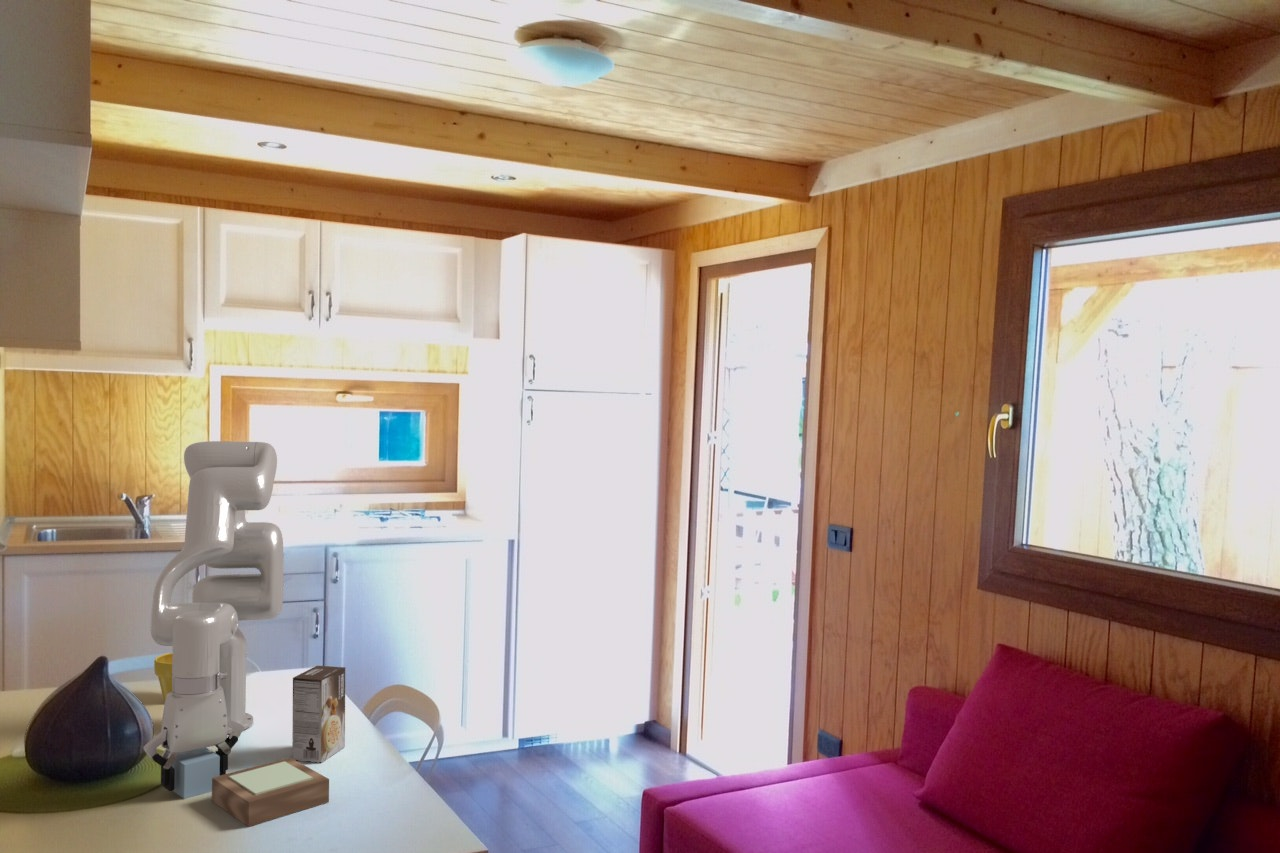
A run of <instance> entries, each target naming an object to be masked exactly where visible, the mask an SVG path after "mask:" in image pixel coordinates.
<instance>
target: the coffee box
mask: <svg viewBox="0 0 1280 853" xmlns="http://www.w3.org/2000/svg"><path fill="white" fill-rule="evenodd" d="M291 743H292V748H291V749H292V752H291V753H292V756H291V758H292V759H294V760H298V762H306V761H311V762H310V763H315V762H322V763H323V761H324V762H325V761H326V760H328V759H329V758H331V757H332V756H333V755H335V754H336V753H338V752H340V751H341V750H342V749H344V748H345V747H346V667H345V666H342V667H341V666H332V665H331V666H330V665H329V666H328V665H316V666H313V667H312V668H309V669H307V670H306V671H303V672H301V673H300V674H298V675H296V676H294V677H292V742H291Z"/></svg>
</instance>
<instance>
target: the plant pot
mask: <svg viewBox="0 0 1280 853" xmlns="http://www.w3.org/2000/svg"><path fill="white" fill-rule="evenodd" d="M153 664H154V665H153V667H154V675H156V677H158V682H159V686H160V690H161V694H162V699H163V702H164V703H165V700H166V696H167V694H168V693H170V692H172V667H173V651H172V652H167V653H164V654H160V655H158V656H156V657H155V658H154V662H153Z"/></svg>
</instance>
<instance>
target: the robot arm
mask: <svg viewBox="0 0 1280 853" xmlns="http://www.w3.org/2000/svg"><path fill="white" fill-rule="evenodd" d="M277 456H278V455H277V452H276V449H275V447H274V446H273V445H272V444H271V443H268V442H263V441H225V440H224V441H223V440H222V441H219V440H218V441H217V440H215V441H214V440H213V441H211V440H210V441H199V442H195V443H191V444H189V445H188V446H187V447H186V448H185V450H184V453H183V461H184V462H183V463H184V466H185V470H186V472H187V474H188V476H189V485H188V493H187V494H188V495H187V507H186V508H187V509H186V519H185V530H184V531H185V533H184V545H183V547H182V549H181V550H180V551H179V552H178V553H177V554H176V555H175V556H174V557H173V558H172V559H171V560H170V561H169V562H168V563H167V564H166V566H165V567H164V569H163V570H162V571H161V573H160V574H159V576H158V579H157V581H156V583H155V586H154V590H153V596H152V604H151V605H152V606H151V614H150V634H151V638H152V640H153V641H154V642H155V643H156V644H157V645H159V646H163V647H169V646H170V647H172V652H173V667H172V692H170V693H168V694H167V696H166V700H165V702H164V704H163V705H164V706H163V711H162V717H161V718H162V719H161V728H160V732H159V733H158V734H157V735H156V736H155V737H153V738H152V739H151V740H149V741H148V742H147V743H145V745H144V746H143V750H144V752H145V753H146V755H147V756H148V757H149V759H151V760H152V761H154V762H155V763H157V764H158V765H159V766H160V785H161V786H162V787H163V789H166V790H167V791H169V792H174V791H173V790H174V786H175V769H174V768H173V767H172V764H173V763H174V761H175V759H176V758H177V756H178V755H179V754H181V753H185V752H190V751H194V750H198V749H202V748H210V747H214V746H215V747H216V748H217V750H215V752H214V753H215V754H217V755H219V756H220V776H221V775H224V774H227V771H228V769H229V755H230V754H231V751H232V749H233V748H234V746H235V745H236V744H237V742H239V738H240V737H241V734H242V733H243V731H244V730H246V729H249V728H250V727H251V726H252V725H253V724H254V716H253V715H252V714H249V713H248V712H246V703H247V702H246V700H247V699H246V696H247V695H246V694H247V691H246V689H247V688H246V687H247V686H246V685H247V681H246V680H247V641H246V640H247V639H246V638H245V635H244V634H243V632H242V630H240V628H239V627H238V626H239V621H240V622H241V621H242V622H243V621H264V620H271V619H275V618H277V617H278V616H279V615H280V613H281V611H282V608H283V603H284V538H283V534H282V531H281V528H280V527H279V526H278V525H276V524H274V523H272V522H268V521H266V522H265V521H263V522H262V521H261V522H258V521H257V522H250V521H249V522H247V520H246V511H262V510H264V509H266V508H267V506H268V505H269V504H270V501H271V498H272V495H273V494H272V492H273V489H274V484H275V478H276V475H277V474H276V472H277V468H278V457H277ZM204 565H205V566H206V567H207V568H211V569H225V570H226V569H227V570H228V569H229V570H231V569H257V570H258V571H259V572H260V573H255V574H253V573H252V574H251V573H249V574H248V573H247V574H240V573H239V574H234V573H233V574H215V575H210V576H206V577H203V578H200V580H198V581H197V582H196V584H194V587H193V589H192V594H191V595H192V598H191V599H192V600H191V601H192V602H184V603H183V602H181V603H178V602H177V603H171V600H172V594H173V591H174V588H175V586H176V585H177V583H178V582H180V580H181V579H182V578H183V577H184V576H185V575H187V574H189V573H190V572H191V571H193V570H195V569H197V568H198V567H201V566H204ZM160 746H161V748H163V749H164V751H163V753H162V754H161V755H160V753H159V752H158V750H157V748H159V747H160Z"/></svg>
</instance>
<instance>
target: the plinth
mask: <svg viewBox="0 0 1280 853" xmlns="http://www.w3.org/2000/svg"><path fill="white" fill-rule="evenodd" d="M211 801H212V803H214V804H215V805H217V806H218V807H219V808H221V809H223V810H224V811H225V812H227V813H228V814H230V815H231V816H232V817H233V818H235V819H237V820H238V821H239V822H241V823H242V824H244V825H245V826H247V827H248V828H249V827H253V826H256V825H260V824H263V823H266V822H270V821H272V820H276V819H279V818H282V817H285V816H289V815H293V814H294V813H298V812H299V813H300V812H301V811H304V810H308V809H311V808H315V807H318V806H321V804H322V805H324V804H327V802H328V803H329V802H330V778H328V777H326V776H324V775H323V774H321V773H319V772H318V771H316V770H313V769H311V768H310V767H308V766H306V765H305V764H304V763H301V762H300V761H296V760H294V759H292V757H291V756H289V757H285V758H282V759H281V758H280V759H279V760H274V761H271V762H268V763H263V764H259V765H255V766H251V767H247V768H244V769H240V770H236V771H233V772H228V773H226V774H224V775H221V776H217V777H213V778H212V792H211Z"/></svg>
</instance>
